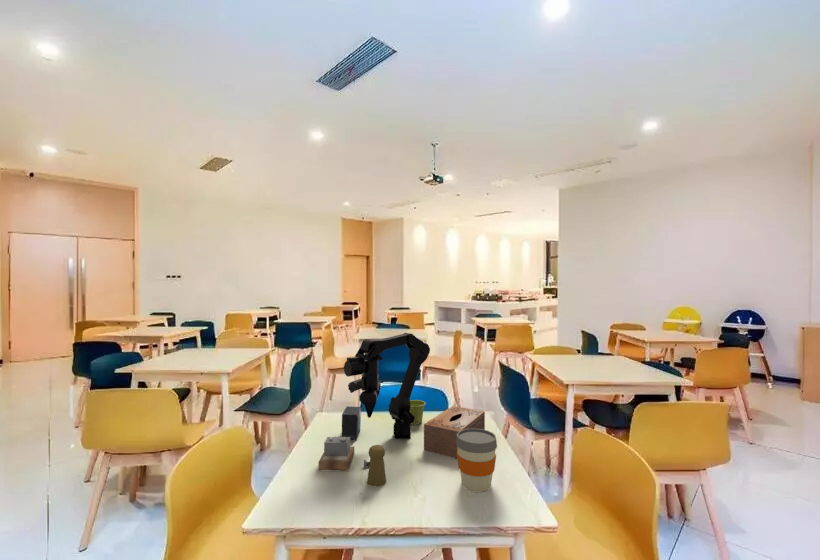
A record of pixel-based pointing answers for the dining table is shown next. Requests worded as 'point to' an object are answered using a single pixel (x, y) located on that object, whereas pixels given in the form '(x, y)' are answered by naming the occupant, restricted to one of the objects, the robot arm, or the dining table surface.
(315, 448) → the dining table surface
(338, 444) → the housing
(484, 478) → the reusable coffee cup
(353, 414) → the small box
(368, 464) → the loose bolt
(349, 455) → the picture frame
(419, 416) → the plant pot
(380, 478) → the cork
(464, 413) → the tissue box cover
